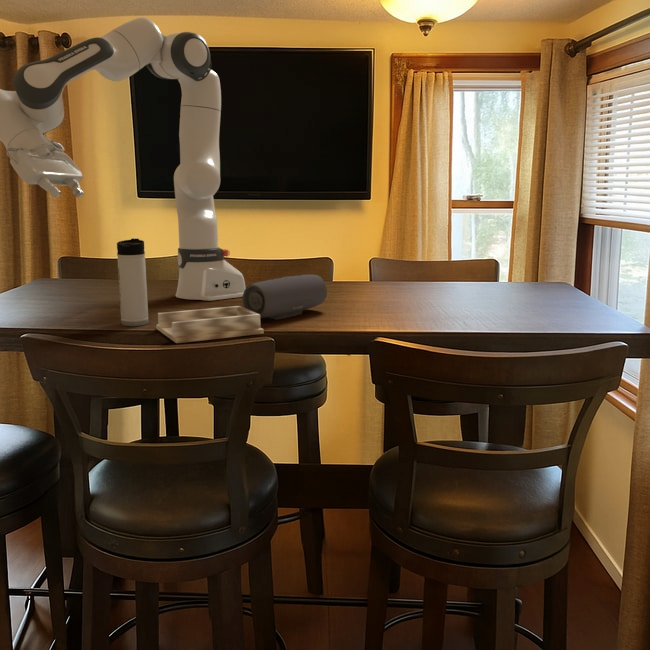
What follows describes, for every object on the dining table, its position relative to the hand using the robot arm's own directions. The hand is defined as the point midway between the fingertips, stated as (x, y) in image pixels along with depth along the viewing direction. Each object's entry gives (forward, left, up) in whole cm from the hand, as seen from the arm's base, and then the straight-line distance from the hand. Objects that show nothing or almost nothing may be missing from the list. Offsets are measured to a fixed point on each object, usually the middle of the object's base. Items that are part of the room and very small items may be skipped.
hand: (69, 195), depth 161 cm
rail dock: (-24, +26, -30) cm, 46 cm away
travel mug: (-11, +10, -30) cm, 34 cm away
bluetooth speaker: (-47, +18, -30) cm, 59 cm away
